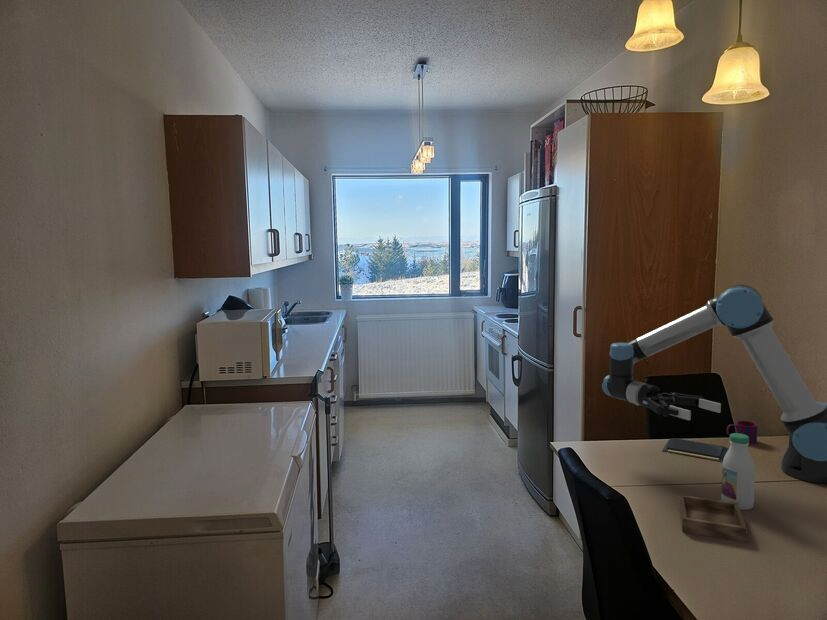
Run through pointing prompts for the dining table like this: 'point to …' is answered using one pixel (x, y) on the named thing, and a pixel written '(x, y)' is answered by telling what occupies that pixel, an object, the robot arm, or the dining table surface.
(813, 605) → the dining table surface
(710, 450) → the dark grey flat slab
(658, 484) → the dining table surface
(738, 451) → the milk bottle
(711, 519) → the walnut tray
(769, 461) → the dining table surface
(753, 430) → the mug
